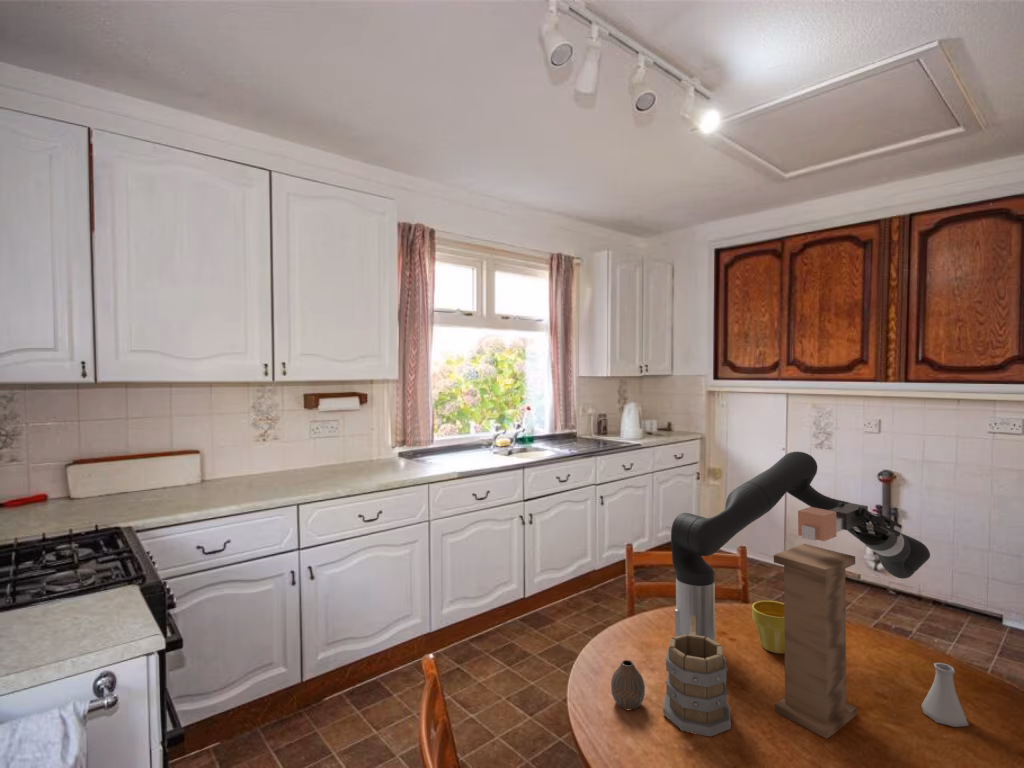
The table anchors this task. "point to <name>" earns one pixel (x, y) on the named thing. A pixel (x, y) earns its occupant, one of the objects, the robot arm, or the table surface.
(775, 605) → the plant pot
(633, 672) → the vase
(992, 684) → the table surface
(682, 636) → the tankard
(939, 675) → the flask
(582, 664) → the table surface
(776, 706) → the walnut stand
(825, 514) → the orange and black bar
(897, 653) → the table surface
